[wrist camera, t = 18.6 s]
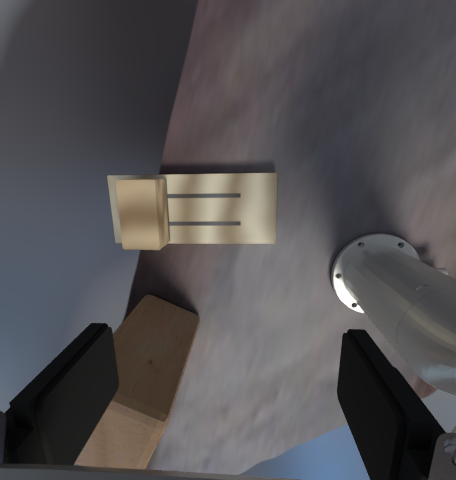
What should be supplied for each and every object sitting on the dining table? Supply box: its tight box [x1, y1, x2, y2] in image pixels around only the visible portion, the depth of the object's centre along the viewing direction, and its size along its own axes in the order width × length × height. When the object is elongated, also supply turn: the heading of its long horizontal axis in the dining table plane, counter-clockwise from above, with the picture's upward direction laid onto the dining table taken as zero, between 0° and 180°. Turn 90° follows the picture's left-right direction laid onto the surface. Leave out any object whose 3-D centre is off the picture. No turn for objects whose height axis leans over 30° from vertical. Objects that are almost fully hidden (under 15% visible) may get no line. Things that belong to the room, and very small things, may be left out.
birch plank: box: [107, 173, 277, 244], centre depth 39 cm, size 24×10×2 cm, turn 91°
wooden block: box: [75, 294, 200, 469], centre depth 36 cm, size 10×10×20 cm
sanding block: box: [115, 179, 170, 250], centre depth 37 cm, size 9×5×5 cm, turn 0°
